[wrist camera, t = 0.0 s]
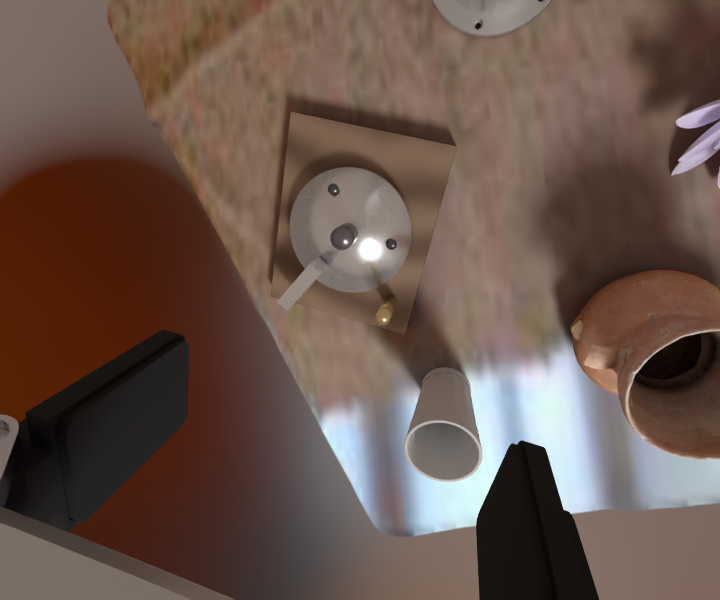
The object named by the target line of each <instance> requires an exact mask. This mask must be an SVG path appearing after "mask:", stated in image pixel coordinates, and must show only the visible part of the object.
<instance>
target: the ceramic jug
mask: <svg viewBox="0 0 720 600" xmlns="http://www.w3.org/2000/svg"><path fill="white" fill-rule="evenodd" d="M570 328H571V332H572V334H573V348H574V353H575V356H576V359H577V361H578V363H579V365H580V367H581V368H582V370H583V371H584V372H585V374H586V375H587V376H588V377H589V378H590V379H591V380H592V381H594V382H595V383H596V384H597V385H599V386H600V387H602V388H604V389H605V390H607V391H609V392H612V393H614V394H617V395H619V400H620V403H621V407H622V410H623V412H624V414H625V417H626V418H627V420H628V422H629V423H630V425H631V426H632V428H633V429H634V430H635V432H636V433H637V434H638V435H639V436H640V437H641V438H643V439H644V440H645V441H646V442H647V443H649V444H650V445H652V446H654V447H655V448H657V449H659V450H661V451H664V452H666V453H668V454H671V455H675V456H679V457H685V458H694V459H704V460H706V459H720V289H719V288H718V287H716V286H715V285H713V284H712V283H710V282H708V281H707V280H705V279H702V278H700V277H698V276H695V275H692V274H689V273H685V272H680V271H674V270H649V271H643V272H639V273H635V274H632V275H629V276H625V277H622V278H619V279H617V280H615V281H613V282H611V283H609V284H607V285H606V286H604V287H603V288H601V289H600V290H599V291H598V292H596V293H595V294H594V295H593V296H592V297H591V298H590V299H589V301H588V302H587V303H586V304H585V306H584V307H583V309H582V310H581V312H580V314H579V315H578V316H577V317H576V319H575V320H574V322H573V323H572V324H571V326H570Z"/></svg>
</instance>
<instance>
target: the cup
mask: <svg viewBox="0 0 720 600" xmlns="http://www.w3.org/2000/svg"><path fill="white" fill-rule="evenodd" d="M404 449H405V454H406V457H407V459H408V461H409V462H410V464H411V465H412V466H413V467H414V468H415V469H416V470H417V471H418V472H419V473H421V474H423V475H424V476H426V477H428V478H431V479H434V480H438V481H444V482H453V481H459V480H462V479H465V478H467V477H469V476H471V475H472V474H473V473H474V472H475V471H476V470H477V469H478V467H479V466H480V464H481V461H482V449H481V444H480V439H479V434H478V429H477V426H476V421H475V416H474V410H473V405H472V399H471V388H470V383H469V381H468V379H467V378H466V376H465V375H464V374H462V373H461V372H460V371H458V370H456V369H453V368H449V367H440V368H436V369H433V370H431V371H430V372H428V373H427V374H426V376H425V377H424V379H423V381H422V387H421V392H420V395H419V398H418V402H417V405H416V409H415V412H414V415H413V419H412V421H411V424H410V427H409V430H408V433H407V436H406V439H405V444H404Z"/></svg>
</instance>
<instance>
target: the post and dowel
mask: <svg viewBox="0 0 720 600" xmlns="http://www.w3.org/2000/svg"><path fill="white" fill-rule="evenodd" d="M357 238H358V231H357V229H356V227H355V226H354V225H352V224H350V223H345V224H342V225H340V226H339V227H337V228H336V229H334V230H333V231H332V233H331V235H330V241H331V243H332V245H333V246H334V247H335V248H336V249H338V250H345V249H347V248H349V247H350V246H351V245H352V244H353V243H354V242H355V241H356V240H357ZM396 303H397V299H396V297H395V296H393V295H386V296H385V298H384V299H383V301H382V303H381V305H380V307H379V309H378V311H377V313H376V315H375V321H376V323H377V324H379V325H381V326H384V325H387V324H388V323H389V320H390V318H391V316H392V313H393V311H394V308H395V306H396Z"/></svg>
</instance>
